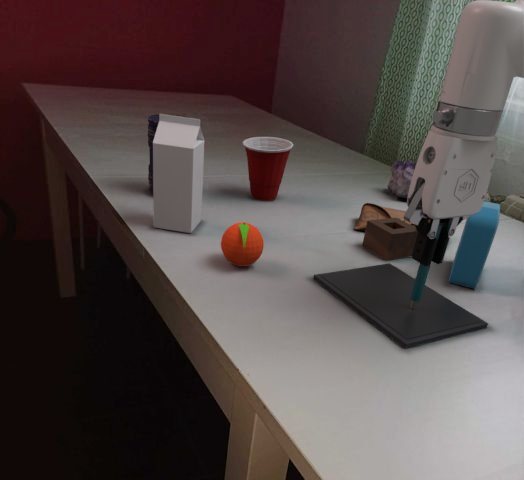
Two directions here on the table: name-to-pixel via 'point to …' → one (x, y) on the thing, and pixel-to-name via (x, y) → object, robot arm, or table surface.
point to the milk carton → (178, 173)
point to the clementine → (242, 244)
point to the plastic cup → (266, 165)
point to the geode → (401, 178)
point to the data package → (475, 245)
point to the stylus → (421, 278)
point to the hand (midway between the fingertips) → (426, 260)
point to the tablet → (399, 305)
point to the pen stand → (390, 238)
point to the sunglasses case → (378, 215)
